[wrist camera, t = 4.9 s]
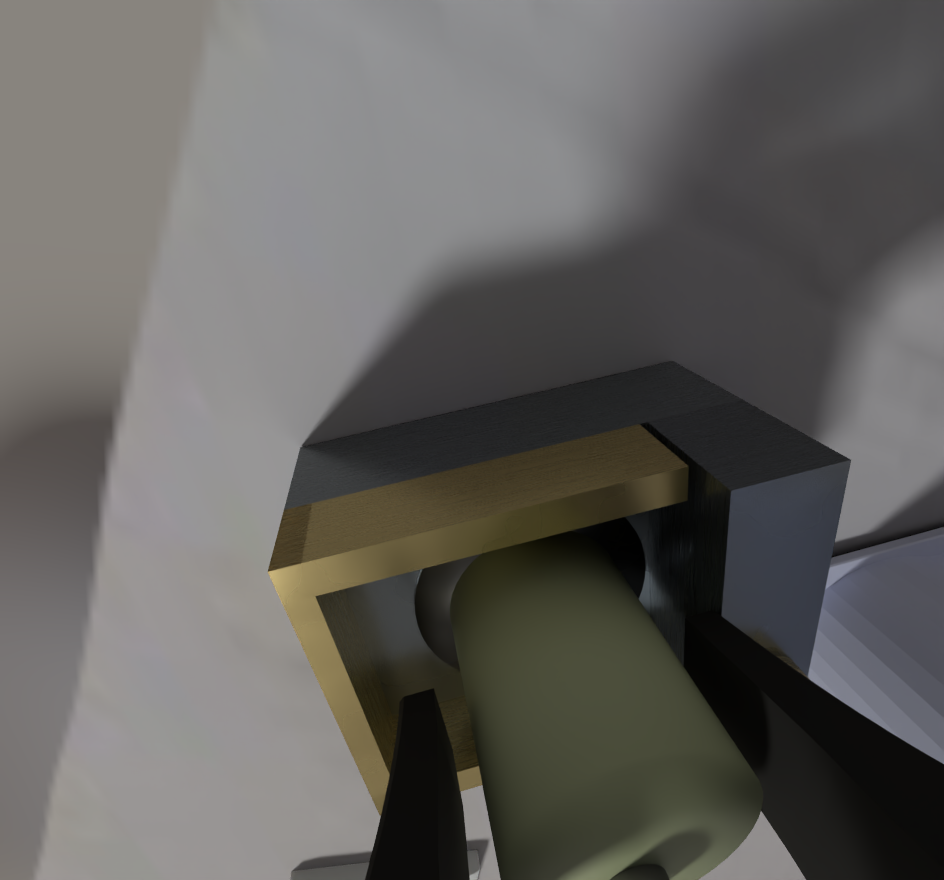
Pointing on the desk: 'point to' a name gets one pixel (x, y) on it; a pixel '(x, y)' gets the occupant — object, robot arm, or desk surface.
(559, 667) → the spout can
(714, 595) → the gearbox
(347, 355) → the desk surface
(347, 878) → the external hard drive
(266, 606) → the desk surface
